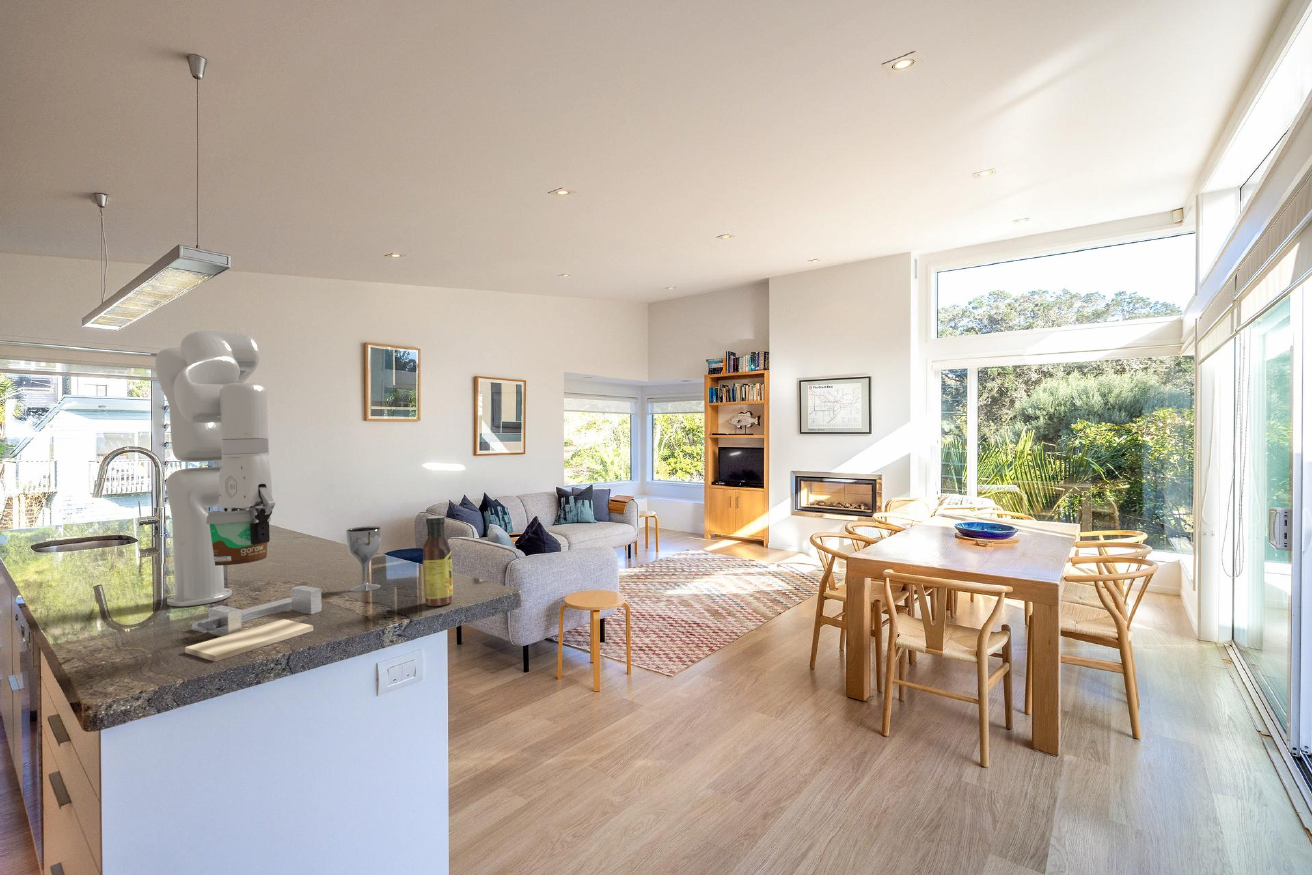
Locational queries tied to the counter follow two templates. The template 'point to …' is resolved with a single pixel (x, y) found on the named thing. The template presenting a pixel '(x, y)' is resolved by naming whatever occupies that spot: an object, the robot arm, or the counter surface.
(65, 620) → the counter surface
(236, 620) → the vise
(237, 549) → the food container
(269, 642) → the light wood flat board
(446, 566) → the sauce bottle
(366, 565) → the wine glass
